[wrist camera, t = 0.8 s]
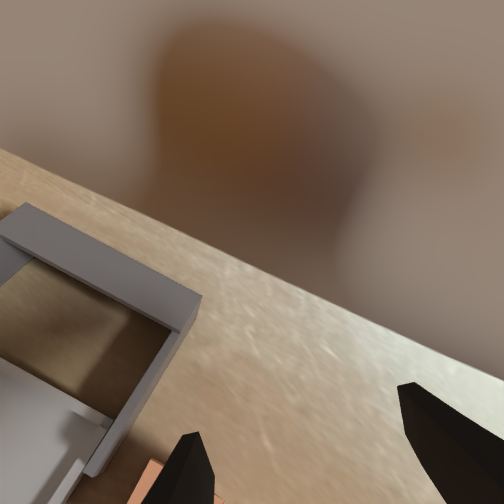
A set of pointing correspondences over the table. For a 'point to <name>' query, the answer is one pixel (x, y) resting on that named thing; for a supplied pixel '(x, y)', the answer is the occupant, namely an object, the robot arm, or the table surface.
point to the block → (148, 480)
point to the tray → (43, 439)
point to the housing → (109, 283)
